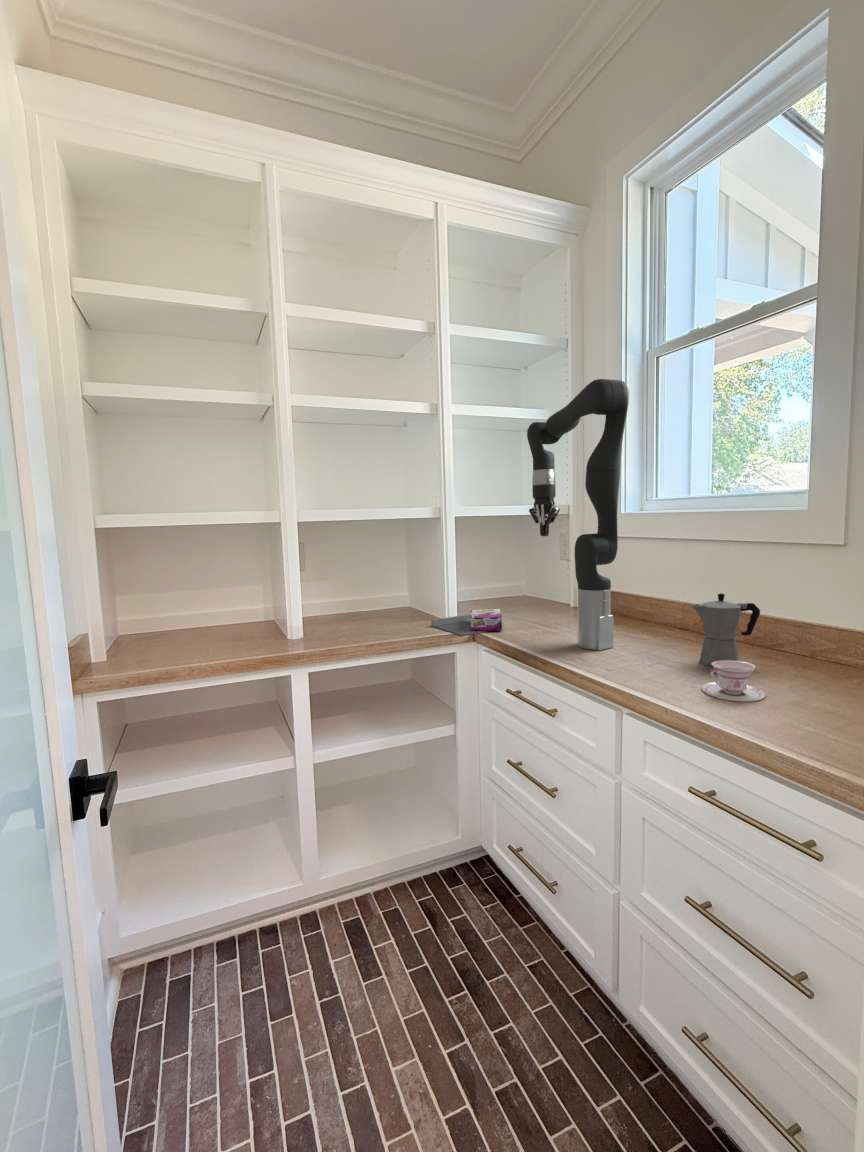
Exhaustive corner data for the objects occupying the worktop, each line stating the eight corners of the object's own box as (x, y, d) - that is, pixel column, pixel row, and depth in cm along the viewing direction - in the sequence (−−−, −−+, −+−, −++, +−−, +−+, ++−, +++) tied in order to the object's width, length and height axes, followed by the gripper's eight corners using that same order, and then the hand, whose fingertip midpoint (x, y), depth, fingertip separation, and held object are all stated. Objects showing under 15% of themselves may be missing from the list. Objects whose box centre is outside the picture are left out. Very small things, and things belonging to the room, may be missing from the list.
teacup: (742, 683, 120) (742, 656, 119) (779, 701, 108) (780, 672, 107) (690, 685, 119) (690, 659, 119) (721, 704, 108) (722, 674, 107)
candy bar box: (469, 617, 180) (470, 609, 196) (469, 631, 180) (471, 622, 197) (502, 616, 179) (501, 608, 195) (502, 630, 179) (501, 621, 195)
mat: (499, 629, 184) (499, 622, 184) (461, 635, 176) (461, 628, 176) (467, 620, 201) (467, 614, 200) (431, 626, 192) (431, 619, 192)
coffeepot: (694, 667, 133) (696, 596, 131) (687, 657, 142) (688, 590, 140) (764, 669, 129) (767, 596, 127) (752, 659, 138) (754, 591, 136)
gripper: (566, 482, 172) (567, 535, 174) (538, 485, 183) (539, 535, 185) (549, 482, 168) (550, 537, 170) (522, 485, 180) (522, 536, 182)
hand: (544, 536), depth 178 cm, fingers closed
